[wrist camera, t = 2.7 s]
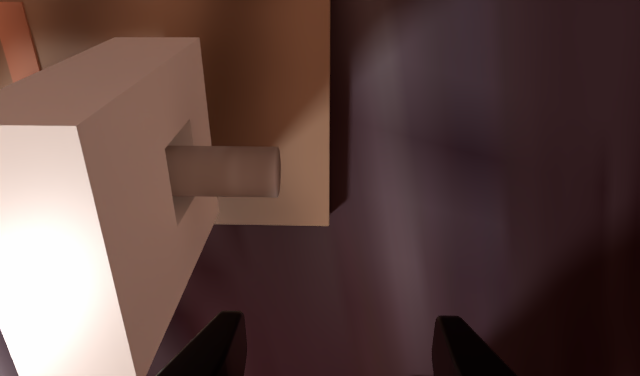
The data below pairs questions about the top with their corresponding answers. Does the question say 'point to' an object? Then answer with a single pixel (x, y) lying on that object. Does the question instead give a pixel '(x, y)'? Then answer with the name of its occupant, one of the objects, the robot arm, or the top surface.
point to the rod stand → (216, 91)
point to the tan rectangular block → (99, 205)
